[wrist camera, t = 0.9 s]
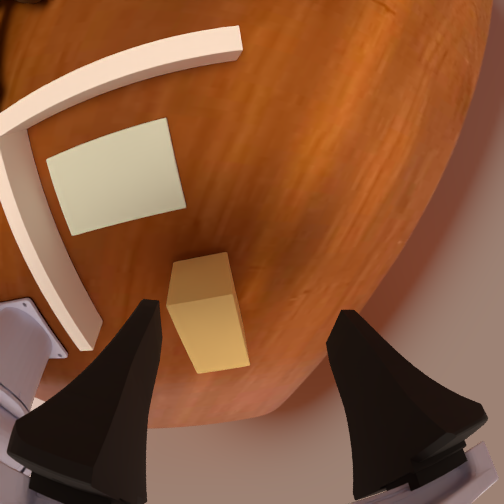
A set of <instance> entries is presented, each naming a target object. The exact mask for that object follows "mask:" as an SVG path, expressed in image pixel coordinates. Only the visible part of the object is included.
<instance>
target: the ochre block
mask: <svg viewBox="0 0 504 504" xmlns="http://www.w3.org/2000/svg"><path fill="white" fill-rule="evenodd" d="M166 306H167V309H168V311H169V313H170V316H171V318H172V320H173V323H174V325H175V327H176V329H177V332H178V334H179V336H180V338H181V340H182V343H183V345H184V347H185V349H186V351H187V353H188V355H189V357H190V359H191V361H192V363H193V365H194V367H195V369H196V371H197V373H198V374H199V373H206V372H213V371H220V370H226V369H232V368H238V367H244V366H249V365H250V362H249V356H248V350H247V345H246V339H245V333H244V327H243V321H242V317H241V312H240V308H239V304H238V299H237V295H236V290H235V286H234V282H233V277H232V273H231V268H230V263H229V259H228V254H227V252H223V253H218V254H213V255H207V256H202V257H197V258H192V259H187V260H182V261H177V262H173V268H172V273H171V279H170V285H169V291H168V297H167V304H166Z"/></svg>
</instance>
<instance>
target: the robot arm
mask: <svg viewBox="0 0 504 504" xmlns="http://www.w3.org/2000/svg"><path fill="white" fill-rule="evenodd" d="M161 345H162V329H161V319H160V307H159V301H157V300H147V299H143V300H142V301H141V302H140V303H139V305H138V306H137V308H136V309H135V310H134V312H133V313H132V315H131V316H130V317H129V319H128V320H127V321H126V323H125V324H124V325H123V327H122V328H121V329H120V330H119V332H118V333H117V334H116V336H115V337H114V338H113V339H112V341H111V342H110V343H109V344H108V345H107V346H106V347H105V349H104V350H103V351H102V352H101V353H100V354H99V355H98V357H97V358H96V359H95V360H94V361H93V362H92V363H91V364H90V365H89V366H88V367H87V368H86V369H85V370H84V371H83V372H82V373H81V374H80V375H79V376H77V377H76V378H75V379H74V380H73V381H72V382H71V383H70V384H68V385H67V386H66V387H65V388H64V389H62V390H61V391H60V392H58V393H57V394H56V395H54V396H53V397H52V398H50V399H49V400H48V401H46V402H45V403H43V404H42V405H41V406H39V407H38V408H36V409H34V410H33V411H31V412H30V409H31V406H32V403H33V400H34V397H35V394H36V391H37V388H38V385H39V383H40V380H41V377H42V374H43V372H44V369H45V367H46V364H47V361H48V359H49V358H67V356H68V353H67V352H66V350H65V349H64V348H63V346H62V345H61V343H60V342H59V341H58V339H57V338H56V337H55V335H54V334H53V332H52V331H51V329H50V328H49V326H48V325H47V323H46V322H45V320H44V319H43V317H42V316H41V314H40V313H39V311H38V310H37V308H36V306H35V305H34V303H33V301H32V300H31V299H29V298H23V299H18V300H13V301H7V302H2V303H0V504H144V503H146V502H147V492H146V440H147V424H148V414H149V407H150V403H151V398H152V393H153V388H154V384H155V379H156V375H157V370H158V366H159V361H160V353H161ZM326 346H327V351H328V356H329V362H330V366H331V369H332V372H333V375H334V378H335V381H336V384H337V387H338V390H339V393H340V396H341V399H342V402H343V405H344V408H345V413H346V417H347V422H348V428H349V433H350V441H351V448H352V459H353V495H354V499H355V500H358V499H361V498H365V497H368V496H371V495H374V494H377V493H380V492H383V491H385V490H387V491H386V492H383V493H381V494H378V495H375V496H372V497H369V498H366V499H363V500H360V501H356V502H353V503H349V504H471V503H472V502H474V501H475V500H476V499H477V498H478V497H479V496H480V495H481V494H482V493H483V492H485V491H486V490H487V489H488V488H489V487H490V486H491V485H493V484H494V483H495V482H496V481H497V480H498V475H497V472H496V470H495V467H494V464H493V462H492V460H491V457H490V455H489V452H488V450H487V447H486V445H485V443H484V441H482V442H480V443H479V444H477V445H476V446H474V447H472V448H471V449H469V450H468V451H466V452H465V453H464V451H463V448H464V447H465V446H466V443H465V441H464V440H465V439H466V438H468V437H469V436H470V435H471V434H473V433H474V432H475V431H477V430H478V429H479V428H480V427H481V426H482V425H484V424H485V423H486V421H487V420H488V417H487V415H486V413H485V411H484V409H483V407H482V405H481V404H480V403H477V402H475V401H472V400H470V399H467V398H465V397H463V396H460V395H459V394H457V393H455V392H453V391H451V390H449V389H447V388H445V387H444V386H442V385H440V384H439V383H437V382H436V381H434V380H432V379H431V378H429V377H428V376H426V375H425V374H424V373H422V372H421V371H420V370H419V369H417V368H416V367H414V366H413V365H412V364H411V363H410V362H408V361H407V360H406V359H405V358H404V357H402V355H400V354H399V353H398V352H397V351H396V350H395V349H394V348H393V347H392V346H391V345H390V344H389V343H388V342H386V341H385V340H384V339H383V338H382V337H381V336H380V335H379V334H378V333H377V332H376V331H375V330H374V329H373V328H372V327H371V326H370V325H369V324H368V323H367V322H366V321H365V320H364V319H363V318H362V317H361V316H360V315H359V314H358V313H357V312H356V311H355V310H341V311H340V314H339V316H338V318H337V320H336V323H335V325H334V327H333V329H332V331H331V333H330V336H329V338H328V340H327V342H326ZM30 474H31V477H29V476H30Z"/></svg>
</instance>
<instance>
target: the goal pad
mask: <svg viewBox="0 0 504 504" xmlns="http://www.w3.org/2000/svg"><path fill="white" fill-rule="evenodd" d="M46 161H47V165H48V168H49V172H50V175H51V178H52V182H53V185H54V188H55V191H56V194H57V197H58V200H59V203H60V206H61V209H62V211H63V214H64V217H65V219H66V222H67V225H68V227H69V230H70V232H71V235H72V236H74V235H78V234H81V233H85V232H88V231H92V230H96V229H99V228H103V227H107V226H111V225H115V224H119V223H123V222H127V221H131V220H135V219H139V218H143V217H147V216H151V215H156V214H160V213H164V212H169V211H173V210H178V209H183V208H186V202H185V198H184V194H183V190H182V186H181V181H180V177H179V173H178V168H177V164H176V160H175V155H174V150H173V146H172V141H171V136H170V131H169V127H168V122H167V117H166V118H163V119H159V120H155V121H151V122H148V123H144V124H141V125H137V126H134V127H131V128H127V129H124V130H121V131H118V132H115V133H112V134H109V135H106V136H103V137H100V138H98V139H95V140H92V141H89V142H87V143H84V144H82V145H79V146H76V147H74V148H72V149H69V150H67V151H64V152H62V153H60V154H57V155H55V156H53V157H51V158H48V159H46Z"/></svg>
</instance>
